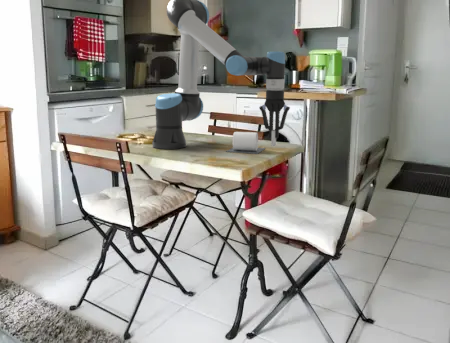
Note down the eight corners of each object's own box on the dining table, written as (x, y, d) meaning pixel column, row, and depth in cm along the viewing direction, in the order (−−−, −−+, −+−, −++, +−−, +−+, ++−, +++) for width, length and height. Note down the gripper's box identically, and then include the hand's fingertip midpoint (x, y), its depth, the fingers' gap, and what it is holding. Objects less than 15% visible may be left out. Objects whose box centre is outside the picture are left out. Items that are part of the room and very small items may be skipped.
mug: (255, 152, 190) (255, 133, 188) (232, 151, 192) (232, 133, 190) (259, 147, 201) (259, 130, 199) (237, 146, 203) (237, 129, 201)
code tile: (225, 151, 192) (225, 151, 192) (235, 146, 205) (235, 146, 205) (257, 154, 188) (257, 153, 188) (265, 148, 201) (265, 148, 201)
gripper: (257, 89, 185) (256, 146, 191) (288, 90, 181) (287, 147, 187) (262, 89, 192) (260, 143, 198) (292, 89, 188) (290, 144, 194)
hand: (273, 145), depth 192 cm, fingers closed
